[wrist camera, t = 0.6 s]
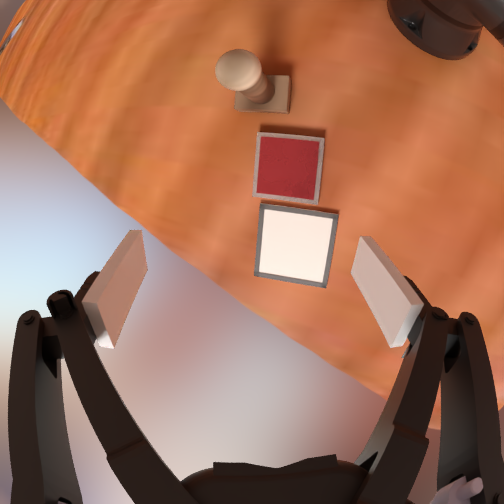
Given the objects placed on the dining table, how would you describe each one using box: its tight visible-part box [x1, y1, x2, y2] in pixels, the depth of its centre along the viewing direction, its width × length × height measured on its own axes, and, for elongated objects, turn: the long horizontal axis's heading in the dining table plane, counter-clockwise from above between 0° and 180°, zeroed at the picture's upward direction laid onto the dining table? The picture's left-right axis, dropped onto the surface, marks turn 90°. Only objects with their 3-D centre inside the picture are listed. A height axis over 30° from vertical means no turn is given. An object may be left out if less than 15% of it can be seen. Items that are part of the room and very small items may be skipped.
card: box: [254, 203, 339, 288], centre depth 40 cm, size 11×11×1 cm
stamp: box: [215, 49, 291, 114], centre depth 28 cm, size 7×5×15 cm
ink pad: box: [252, 132, 325, 205], centre depth 36 cm, size 9×9×2 cm
